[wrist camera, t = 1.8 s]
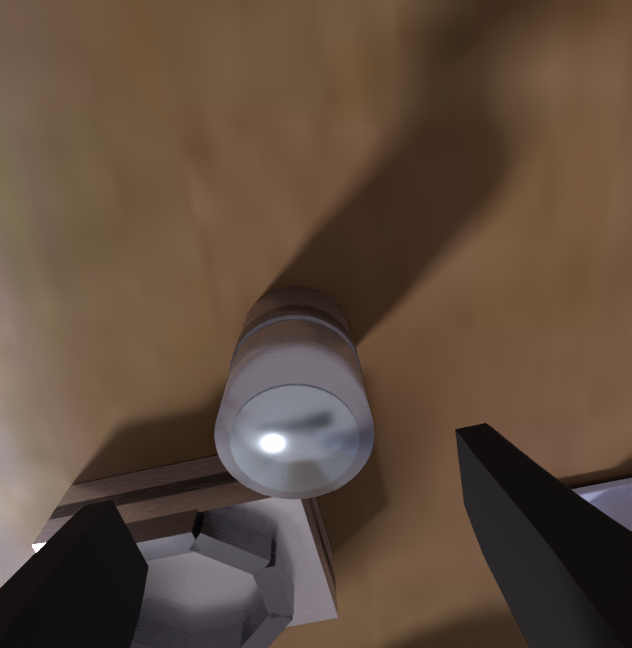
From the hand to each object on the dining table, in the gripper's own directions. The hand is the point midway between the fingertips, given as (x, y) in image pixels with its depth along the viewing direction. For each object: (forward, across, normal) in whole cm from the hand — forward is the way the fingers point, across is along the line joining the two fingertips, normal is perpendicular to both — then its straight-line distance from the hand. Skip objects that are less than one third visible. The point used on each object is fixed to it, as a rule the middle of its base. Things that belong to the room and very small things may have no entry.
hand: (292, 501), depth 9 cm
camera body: (+8, +6, +8) cm, 13 cm away
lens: (+8, 0, 0) cm, 8 cm away
